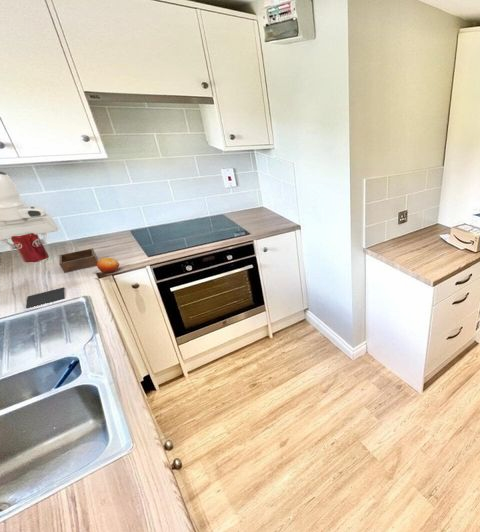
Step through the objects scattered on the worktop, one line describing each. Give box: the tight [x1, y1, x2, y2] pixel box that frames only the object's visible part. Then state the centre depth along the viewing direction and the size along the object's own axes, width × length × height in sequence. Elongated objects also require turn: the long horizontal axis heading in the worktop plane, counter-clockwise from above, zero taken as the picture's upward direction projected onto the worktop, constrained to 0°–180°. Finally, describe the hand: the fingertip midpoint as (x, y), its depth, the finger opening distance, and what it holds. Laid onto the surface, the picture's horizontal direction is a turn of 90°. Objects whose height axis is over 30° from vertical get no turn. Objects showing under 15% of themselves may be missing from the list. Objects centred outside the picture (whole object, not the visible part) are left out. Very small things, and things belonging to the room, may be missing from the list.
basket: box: [58, 247, 99, 274], centre depth 159 cm, size 13×13×5 cm
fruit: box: [96, 256, 120, 275], centre depth 153 cm, size 8×8×8 cm
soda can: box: [10, 233, 50, 264], centre depth 129 cm, size 7×7×12 cm
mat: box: [25, 287, 66, 309], centre depth 133 cm, size 11×11×1 cm
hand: (29, 246), depth 129 cm, fingers closed on soda can, 7 cm apart
